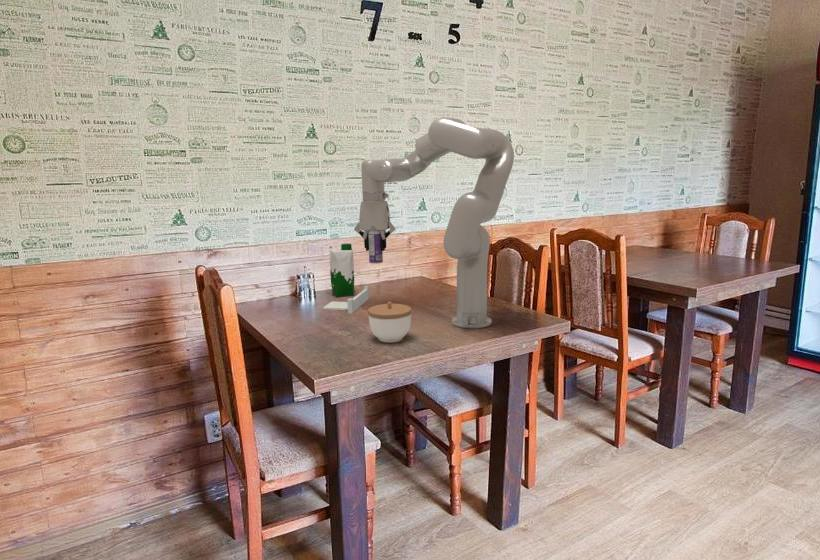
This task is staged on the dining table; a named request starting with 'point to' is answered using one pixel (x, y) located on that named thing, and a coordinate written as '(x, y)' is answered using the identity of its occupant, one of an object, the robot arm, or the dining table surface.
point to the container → (375, 246)
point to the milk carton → (342, 271)
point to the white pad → (336, 306)
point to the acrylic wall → (358, 300)
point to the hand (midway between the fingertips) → (375, 249)
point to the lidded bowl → (389, 321)
